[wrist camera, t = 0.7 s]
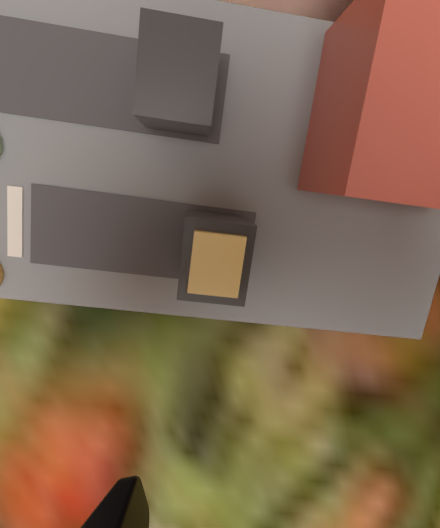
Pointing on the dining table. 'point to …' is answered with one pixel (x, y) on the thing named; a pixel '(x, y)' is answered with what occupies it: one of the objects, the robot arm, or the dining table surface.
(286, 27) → the breaker panel
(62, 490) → the dining table surface
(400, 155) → the cap
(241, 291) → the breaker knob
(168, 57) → the block
